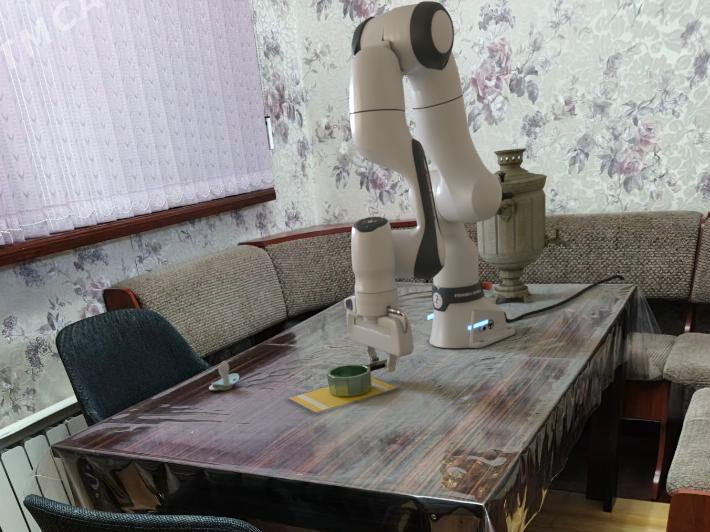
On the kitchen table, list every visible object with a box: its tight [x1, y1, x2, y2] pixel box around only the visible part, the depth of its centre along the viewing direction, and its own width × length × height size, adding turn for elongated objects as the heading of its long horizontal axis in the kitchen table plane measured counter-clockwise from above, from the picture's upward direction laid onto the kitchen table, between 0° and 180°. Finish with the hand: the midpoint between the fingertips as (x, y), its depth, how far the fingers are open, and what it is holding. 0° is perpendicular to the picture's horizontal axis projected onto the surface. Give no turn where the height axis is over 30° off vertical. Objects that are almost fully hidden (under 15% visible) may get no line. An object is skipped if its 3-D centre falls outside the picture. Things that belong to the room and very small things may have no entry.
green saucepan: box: [326, 358, 397, 397], centre depth 152 cm, size 16×9×4 cm, turn 124°
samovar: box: [476, 147, 569, 305], centre depth 202 cm, size 30×26×40 cm
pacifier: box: [208, 360, 240, 392], centre depth 160 cm, size 7×6×6 cm
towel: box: [288, 376, 398, 413], centre depth 151 cm, size 20×12×1 cm, turn 124°
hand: (382, 368), depth 154 cm, fingers open, 5 cm apart
